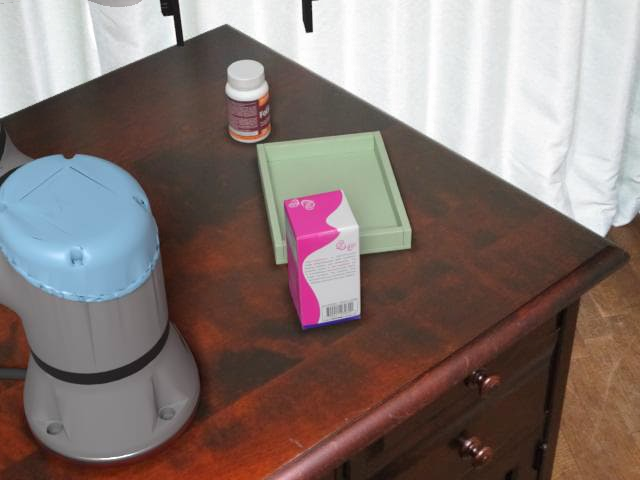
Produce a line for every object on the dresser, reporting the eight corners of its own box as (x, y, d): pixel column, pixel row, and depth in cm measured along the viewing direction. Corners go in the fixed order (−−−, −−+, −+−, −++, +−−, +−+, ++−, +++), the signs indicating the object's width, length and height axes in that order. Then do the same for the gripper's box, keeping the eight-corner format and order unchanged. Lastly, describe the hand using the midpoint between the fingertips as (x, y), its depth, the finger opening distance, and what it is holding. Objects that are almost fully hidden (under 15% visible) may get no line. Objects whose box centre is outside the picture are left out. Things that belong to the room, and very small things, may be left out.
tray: (276, 264, 114) (275, 246, 112) (257, 162, 126) (256, 144, 124) (411, 248, 115) (411, 229, 113) (379, 148, 127) (379, 130, 126)
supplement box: (345, 277, 112) (344, 186, 104) (361, 319, 108) (362, 228, 100) (287, 288, 111) (282, 197, 103) (301, 331, 107) (297, 240, 99)
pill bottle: (270, 144, 128) (266, 81, 123) (227, 144, 128) (221, 81, 123) (272, 119, 132) (268, 56, 126) (230, 119, 132) (225, 57, 126)
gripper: (352, -190, 111) (354, 2, 125) (93, -167, 109) (124, 26, 123) (366, -158, 106) (366, 39, 120) (93, -133, 103) (126, 65, 118)
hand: (244, 33), depth 122 cm, fingers open, 13 cm apart
